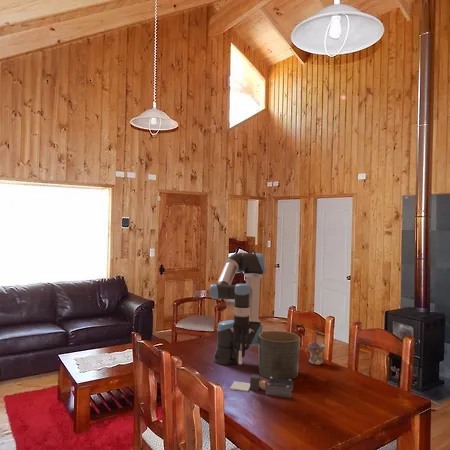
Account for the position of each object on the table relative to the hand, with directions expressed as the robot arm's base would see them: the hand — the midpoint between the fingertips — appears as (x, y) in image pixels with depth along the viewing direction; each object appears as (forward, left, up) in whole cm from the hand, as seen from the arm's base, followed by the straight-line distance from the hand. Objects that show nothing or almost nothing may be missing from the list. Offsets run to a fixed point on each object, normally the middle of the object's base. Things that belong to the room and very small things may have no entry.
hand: (240, 363), depth 194 cm
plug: (+9, 0, -12) cm, 15 cm away
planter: (+15, +25, -12) cm, 32 cm away
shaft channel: (+19, 0, -12) cm, 23 cm away
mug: (+33, +48, -12) cm, 60 cm away
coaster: (0, 0, -12) cm, 12 cm away
